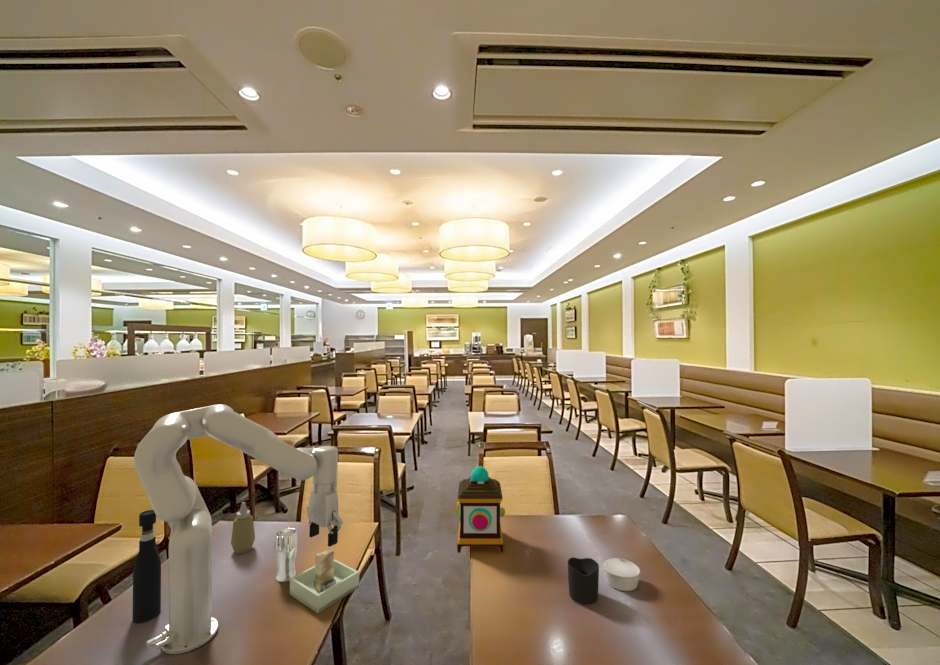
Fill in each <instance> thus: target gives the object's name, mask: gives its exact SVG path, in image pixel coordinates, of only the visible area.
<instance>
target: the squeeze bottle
mask: <svg viewBox="0 0 940 665" xmlns="http://www.w3.org/2000/svg"><path fill="white" fill-rule="evenodd" d="M235 515H236V516H235V517H236V518H234V520H233V524H232V531H231V540H230V544H231V547H232V550H233V552H234V553H235V554H244V553H247V552H249V551H250V550H252V548H253V545H254V543H255V541H256V540H255V539H256V534H255V532H256V531H255V523H254V517H253V515H251V510H250V509H247V504H246V502H245V501H243V502H241V504H240V509H239V511H237V512H236V514H235Z"/></svg>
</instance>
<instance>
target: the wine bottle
mask: <svg viewBox="0 0 940 665" xmlns="http://www.w3.org/2000/svg"><path fill="white" fill-rule="evenodd" d="M138 519H139V520H138V526H139V527H141V533H140V538H139V541H138V545H139V546H138V552H137V555H136V558H135V560H134V565H133V569H132V623H134V624H143V623H144V624H145V623H147V622H150V621H152V620H154V619H155V618H157V617H158V616H159V615H160V613H161V611H162V610H161V609H162V606H161V605H162V560H161V555H160V552H159V550H158V549H157V545H156V543H157V542H156V540H157V539H156V538H157V537H156V533H155V530H154V524H156V523H157V515H156V514H155V512H154V510H153V509H150V510H145V511H141V512H140V513H139V515H138Z"/></svg>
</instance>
